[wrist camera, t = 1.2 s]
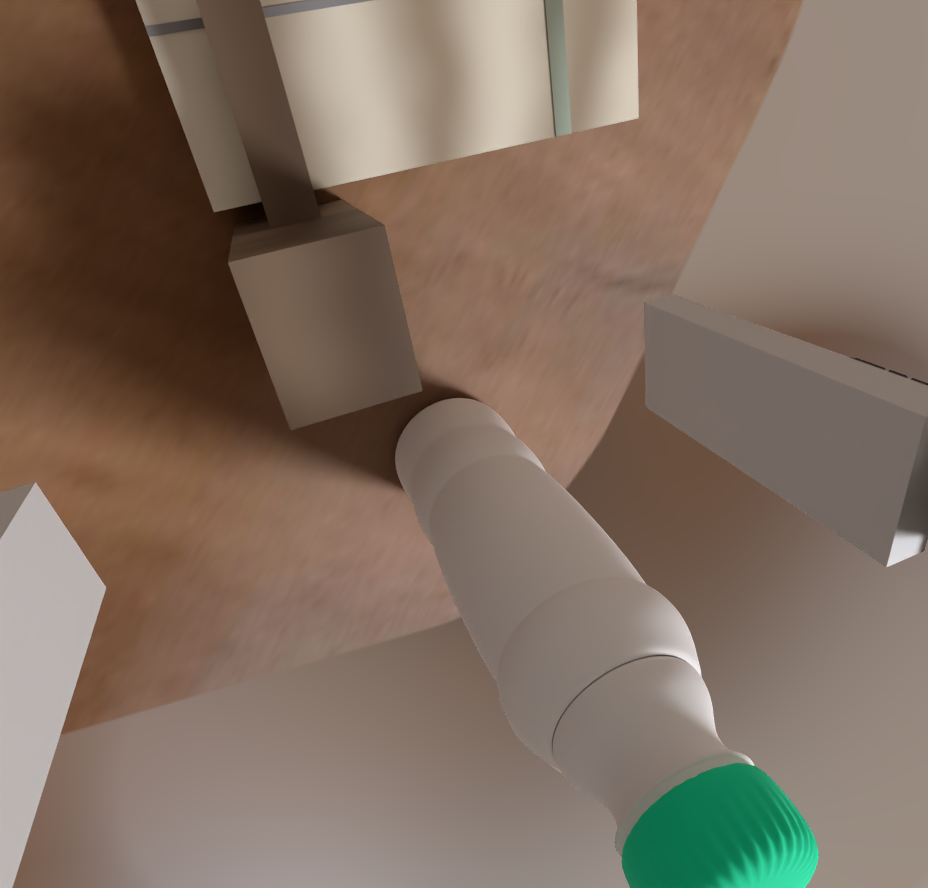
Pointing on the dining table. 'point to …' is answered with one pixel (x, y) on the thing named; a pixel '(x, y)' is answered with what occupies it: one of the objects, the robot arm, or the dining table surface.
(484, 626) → the water bottle
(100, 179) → the dining table surface
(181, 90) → the board
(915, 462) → the robot arm
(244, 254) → the block with long handle
